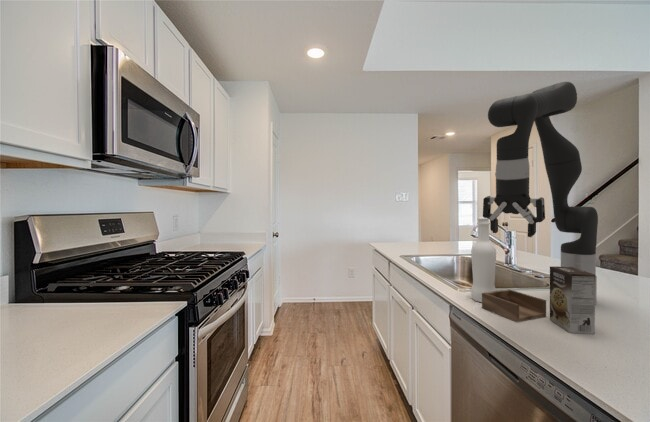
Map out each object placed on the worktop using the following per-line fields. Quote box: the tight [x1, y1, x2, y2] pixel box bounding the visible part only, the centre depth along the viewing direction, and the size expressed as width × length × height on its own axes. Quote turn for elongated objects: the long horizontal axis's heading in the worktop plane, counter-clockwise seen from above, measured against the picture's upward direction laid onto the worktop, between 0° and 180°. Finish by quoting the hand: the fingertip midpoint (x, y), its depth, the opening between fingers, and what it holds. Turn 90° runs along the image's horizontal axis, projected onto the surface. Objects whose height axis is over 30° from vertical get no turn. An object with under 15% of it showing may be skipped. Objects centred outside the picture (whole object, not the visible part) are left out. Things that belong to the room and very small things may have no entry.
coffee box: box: [549, 266, 597, 335], centre depth 82 cm, size 9×6×16 cm
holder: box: [481, 288, 547, 323], centre depth 94 cm, size 12×12×5 cm
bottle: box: [470, 216, 497, 304], centre depth 106 cm, size 8×8×30 cm
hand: (512, 234), depth 81 cm, fingers open, 8 cm apart
